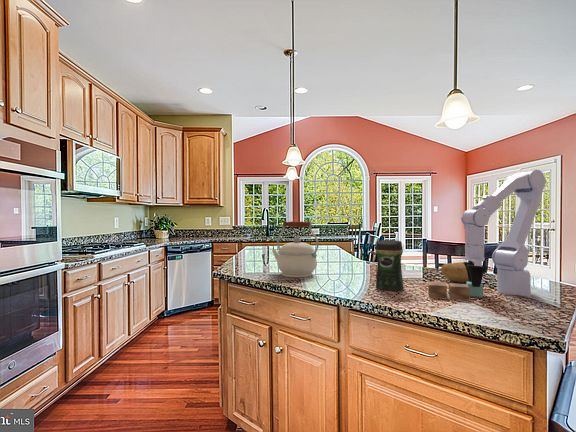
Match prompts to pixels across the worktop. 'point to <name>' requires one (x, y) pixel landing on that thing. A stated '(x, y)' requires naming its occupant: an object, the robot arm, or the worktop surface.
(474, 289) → the teal block
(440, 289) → the walnut block
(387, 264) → the coffee jar
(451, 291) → the walnut block
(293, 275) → the kettle
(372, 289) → the worktop surface
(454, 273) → the potato
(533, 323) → the worktop surface
